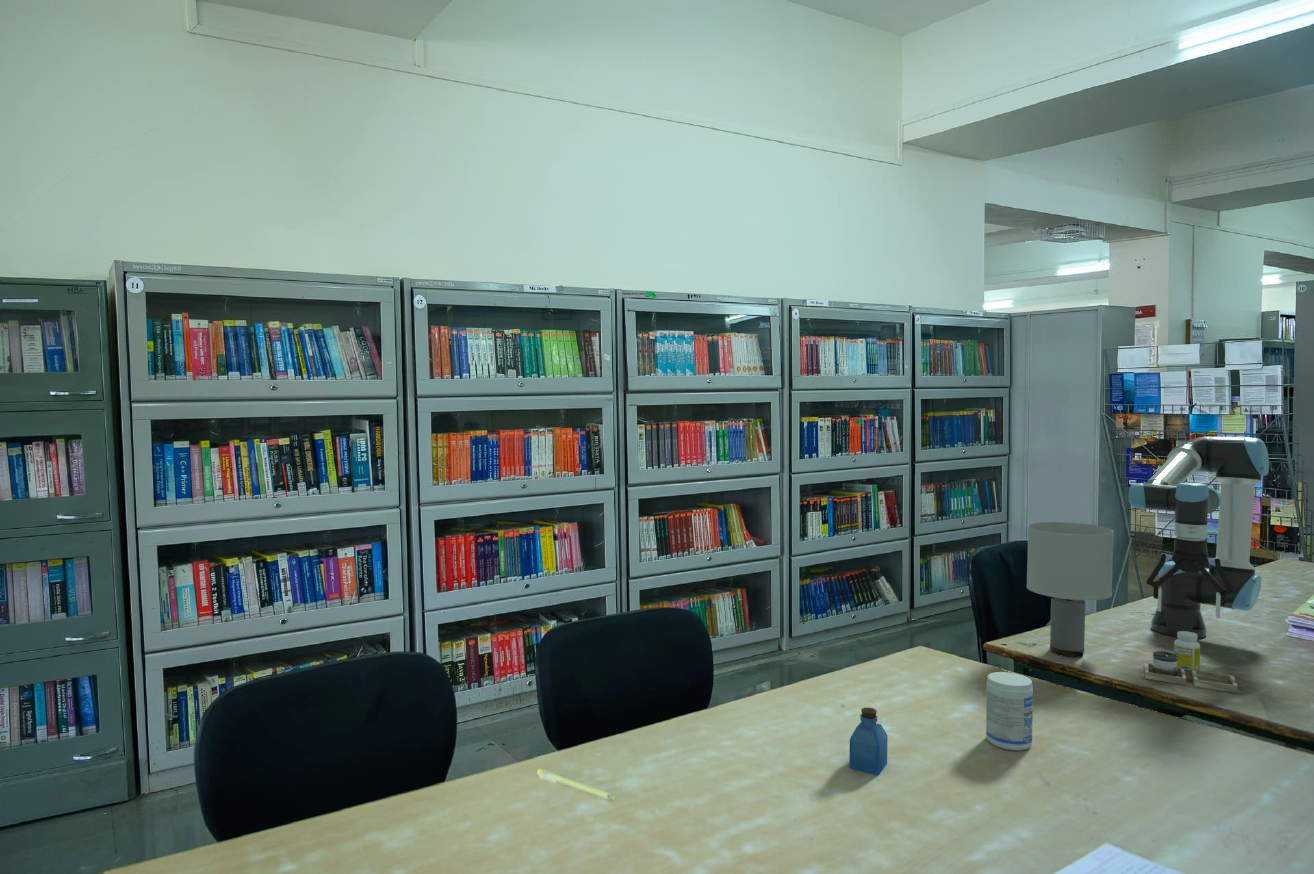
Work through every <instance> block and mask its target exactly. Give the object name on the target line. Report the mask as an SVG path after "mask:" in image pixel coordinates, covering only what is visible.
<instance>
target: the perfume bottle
mask: <svg viewBox="0 0 1314 874" xmlns="http://www.w3.org/2000/svg"><path fill="white" fill-rule="evenodd" d="M860 711H861V714H860V722H859V724H858V725H857V726H856V727H855V729H854V731H853V733H852V734H851V736H850V738H849V749H848V750H849V754H848V755H849V763H848V764H849V765H848V766H849V767H848V768H849V769H852V770H855V771H858V772H862V773H867V774H871V775H874V776H878V777H879V775H881V773H882V772H883V770H884V769H885V767H886V766H887V764H888V734H887V732H886V731H885V728H884V727H883V726H882V723H881V724H880V723H878V715H877V709H875V708H873V707H862V708H861V709H860Z"/></svg>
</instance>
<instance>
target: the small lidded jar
mask: <svg viewBox="0 0 1314 874" xmlns="http://www.w3.org/2000/svg"><path fill="white" fill-rule="evenodd" d="M1177 661H1178V656H1177V655H1176V654H1174V652H1169V651H1161V650H1160V651H1159V650H1158V651H1153V652H1152V664H1153V673H1157V674H1164V675H1170V676H1177Z"/></svg>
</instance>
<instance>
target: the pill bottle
mask: <svg viewBox="0 0 1314 874" xmlns="http://www.w3.org/2000/svg"><path fill="white" fill-rule="evenodd" d="M1176 637H1177V639H1175V640H1174V642H1173V654H1176V655H1177V656H1178V661H1177V667H1178V668H1184V670H1185V672H1189V673H1190V672H1191V673H1192V670H1198V671H1201V645H1200V643H1199V642H1198V641H1197V640H1198V638H1197V634H1196V633H1193V632H1187V631H1179V632H1177V636H1176Z"/></svg>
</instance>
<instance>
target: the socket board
mask: <svg viewBox="0 0 1314 874" xmlns="http://www.w3.org/2000/svg"><path fill="white" fill-rule="evenodd" d="M1140 675H1141V676H1140V677H1141V678H1140V679H1141V680H1146V681H1152V682H1157V683H1165V684H1171V685H1177V686H1182V687H1183V686H1184V687H1190V688H1196V689H1197V688H1198V689H1203V690H1211V691H1215V692H1222V693H1229V694H1236V695H1243V693H1242V691H1241V687H1240V685H1239V683H1238V680H1236V679H1235V676H1234V675H1231V674H1224V673H1219V672H1213V671H1204V670H1200V671H1198V670H1192V672H1191V673H1186V671H1185V670H1184V668H1178V667H1177V676H1170V675H1164V674H1157V673H1153V663H1148V662H1144V667H1143V666H1140Z"/></svg>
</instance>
